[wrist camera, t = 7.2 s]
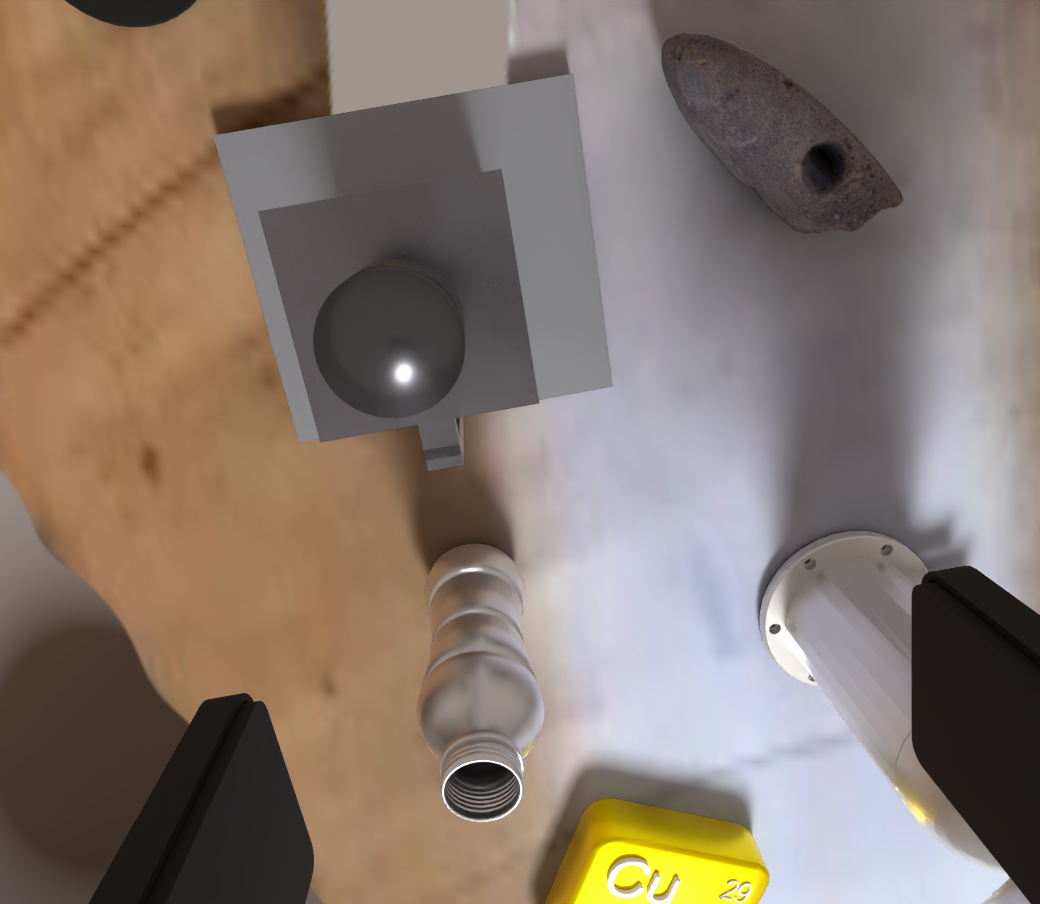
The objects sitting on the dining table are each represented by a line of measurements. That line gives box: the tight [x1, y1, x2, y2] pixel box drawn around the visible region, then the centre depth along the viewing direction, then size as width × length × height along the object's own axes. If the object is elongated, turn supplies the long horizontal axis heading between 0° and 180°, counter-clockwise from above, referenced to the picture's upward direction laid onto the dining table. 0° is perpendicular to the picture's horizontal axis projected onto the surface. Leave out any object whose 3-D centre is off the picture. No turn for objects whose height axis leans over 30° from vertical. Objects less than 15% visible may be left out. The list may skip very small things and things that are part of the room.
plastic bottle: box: [416, 544, 544, 822], centre depth 42 cm, size 6×7×20 cm
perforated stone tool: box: [662, 33, 903, 233], centre depth 41 cm, size 15×5×7 cm, turn 51°
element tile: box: [544, 798, 769, 904], centre depth 60 cm, size 15×15×5 cm
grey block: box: [258, 169, 539, 471], centre depth 36 cm, size 9×12×17 cm
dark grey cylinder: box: [313, 259, 465, 418], centre depth 31 cm, size 4×4×20 cm
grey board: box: [214, 74, 612, 443], centre depth 44 cm, size 20×18×1 cm
